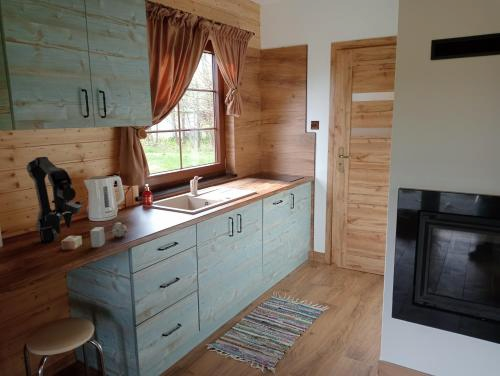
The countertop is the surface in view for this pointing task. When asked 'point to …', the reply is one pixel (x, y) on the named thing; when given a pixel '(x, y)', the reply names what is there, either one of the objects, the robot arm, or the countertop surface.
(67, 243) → the birch block
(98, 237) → the grey block
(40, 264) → the countertop surface
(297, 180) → the countertop surface
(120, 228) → the grey knobbly lump
